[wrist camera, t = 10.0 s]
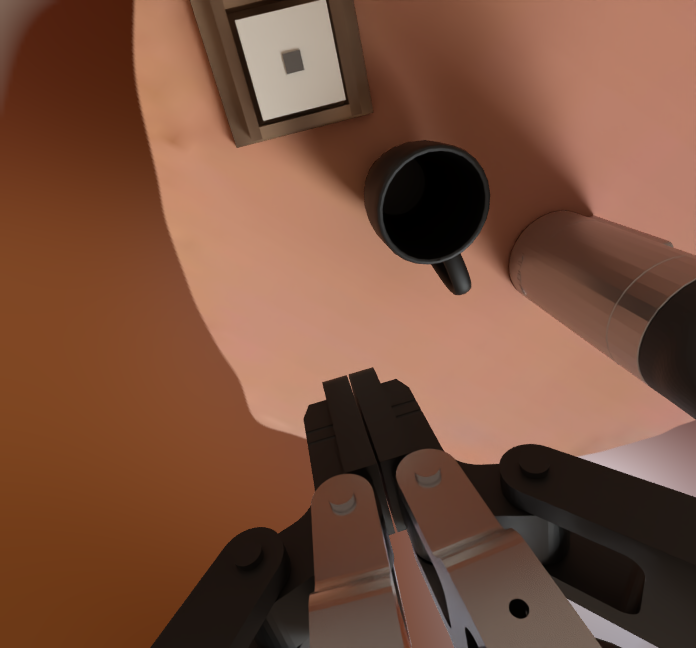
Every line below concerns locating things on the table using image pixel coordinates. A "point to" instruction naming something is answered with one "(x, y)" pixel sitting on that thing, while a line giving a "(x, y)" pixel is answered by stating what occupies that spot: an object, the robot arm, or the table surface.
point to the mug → (429, 206)
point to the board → (235, 82)
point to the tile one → (291, 59)
